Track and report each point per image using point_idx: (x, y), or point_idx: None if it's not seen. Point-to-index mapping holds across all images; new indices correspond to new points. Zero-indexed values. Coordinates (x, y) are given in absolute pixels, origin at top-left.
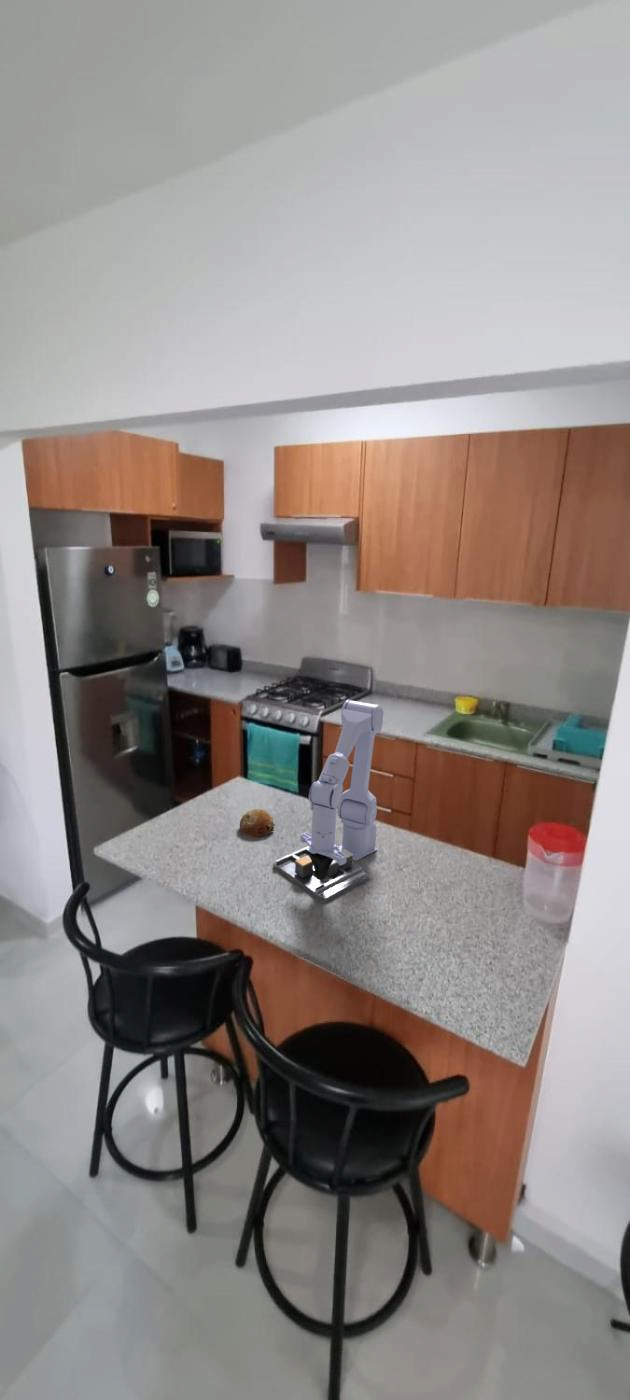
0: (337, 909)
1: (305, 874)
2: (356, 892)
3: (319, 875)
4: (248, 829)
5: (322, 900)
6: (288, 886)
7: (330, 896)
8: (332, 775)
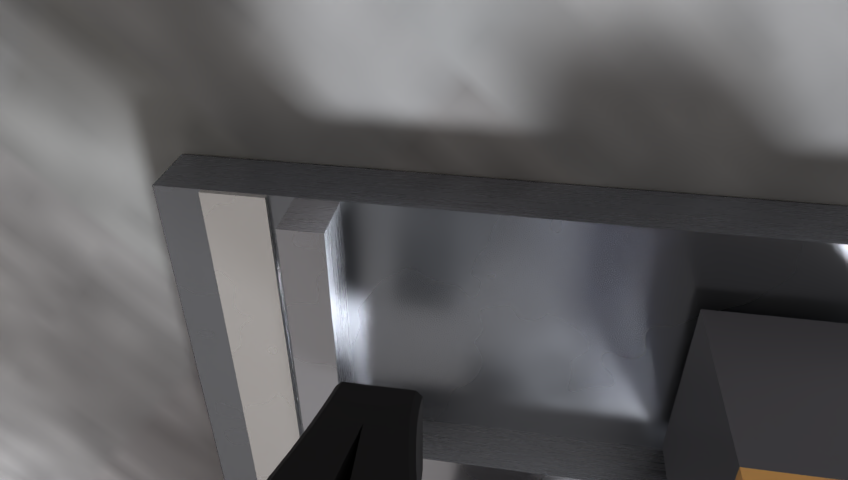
0: (16, 174)
1: (693, 376)
2: (180, 459)
3: (300, 444)
4: None
5: (206, 165)
6: (817, 65)
7: (179, 269)
8: None
